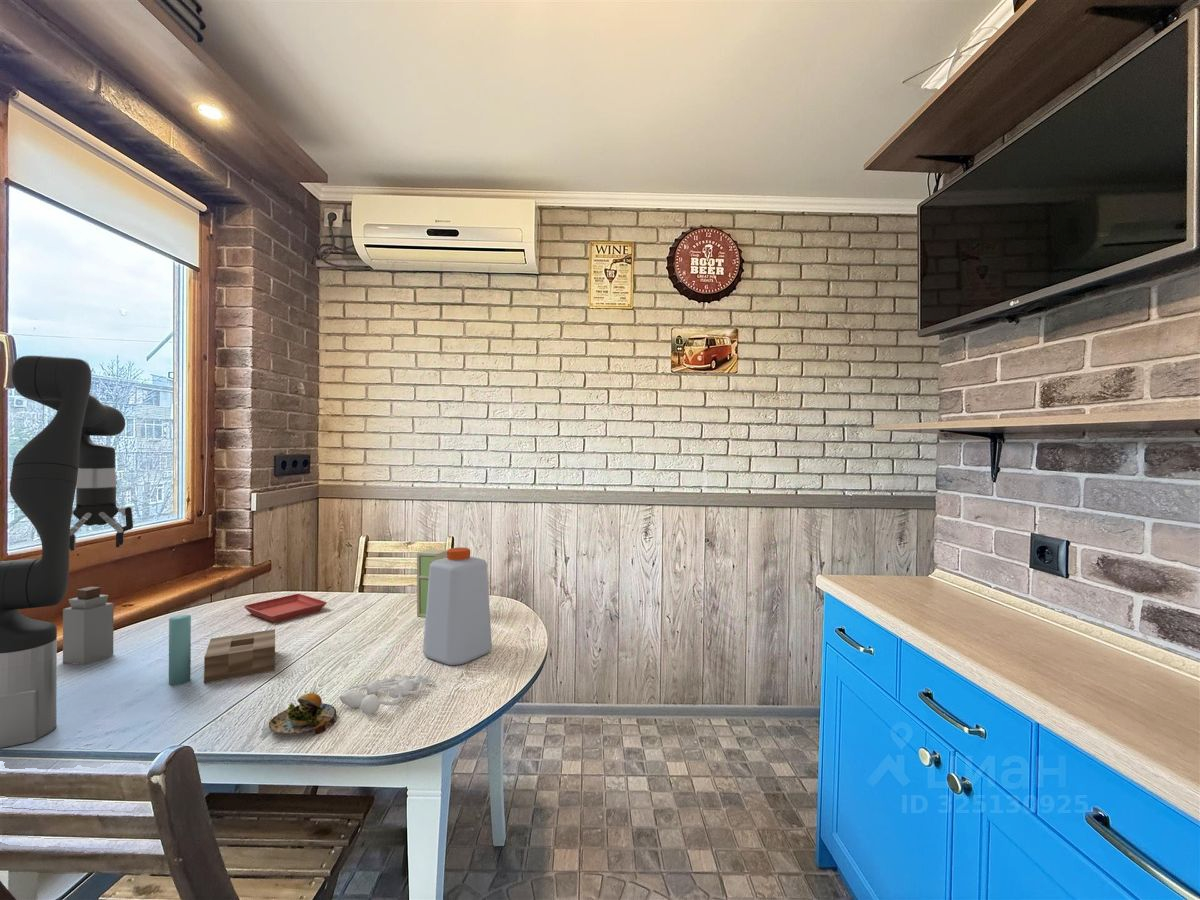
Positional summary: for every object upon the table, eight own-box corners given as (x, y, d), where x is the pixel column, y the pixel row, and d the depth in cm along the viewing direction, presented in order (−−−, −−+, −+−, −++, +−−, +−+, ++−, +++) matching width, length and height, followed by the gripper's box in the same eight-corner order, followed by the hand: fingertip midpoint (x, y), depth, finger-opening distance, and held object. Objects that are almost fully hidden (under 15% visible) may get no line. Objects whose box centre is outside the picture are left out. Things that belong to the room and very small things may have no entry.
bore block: (274, 670, 131) (275, 646, 131) (204, 683, 124) (204, 657, 124) (275, 651, 143) (275, 629, 143) (210, 662, 136) (210, 638, 136)
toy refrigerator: (414, 617, 173) (415, 552, 173) (428, 610, 180) (428, 548, 180) (436, 619, 171) (436, 554, 171) (448, 613, 178) (449, 549, 178)
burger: (261, 725, 107) (262, 687, 107) (325, 705, 115) (325, 670, 115) (278, 750, 98) (278, 709, 98) (345, 726, 106) (346, 689, 106)
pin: (189, 682, 124) (189, 618, 124) (167, 686, 122) (167, 621, 122) (191, 676, 128) (191, 613, 128) (170, 680, 126) (170, 616, 125)
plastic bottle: (498, 650, 146) (499, 548, 146) (455, 669, 133) (456, 557, 133) (460, 639, 154) (460, 542, 154) (416, 656, 141) (416, 550, 141)
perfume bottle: (83, 664, 133) (84, 592, 133) (62, 662, 135) (63, 591, 135) (113, 654, 140) (113, 586, 140) (92, 652, 141) (93, 584, 141)
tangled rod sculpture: (404, 677, 132) (404, 660, 132) (445, 687, 124) (445, 669, 124) (329, 707, 115) (329, 688, 115) (371, 720, 108) (370, 699, 108)
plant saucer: (328, 611, 179) (328, 601, 179) (271, 626, 164) (271, 615, 164) (298, 602, 189) (298, 593, 189) (242, 615, 174) (242, 605, 174)
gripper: (54, 487, 131) (54, 554, 131) (131, 485, 140) (131, 547, 139) (60, 486, 137) (60, 549, 137) (134, 484, 146) (133, 543, 145)
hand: (96, 548), depth 138 cm, fingers open, 8 cm apart
